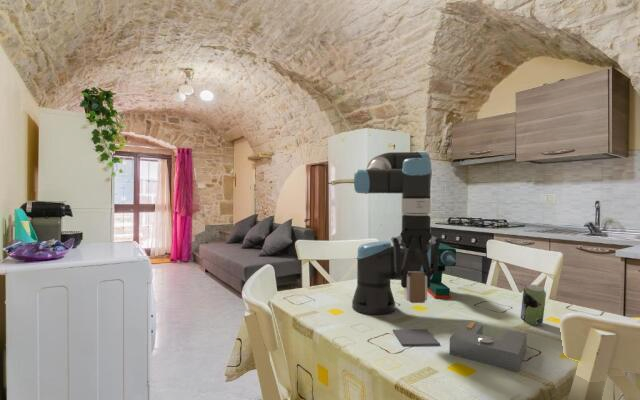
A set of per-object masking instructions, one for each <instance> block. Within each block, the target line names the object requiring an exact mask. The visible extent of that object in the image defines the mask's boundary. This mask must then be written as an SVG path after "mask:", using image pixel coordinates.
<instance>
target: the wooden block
mask: <svg viewBox="0 0 640 400" xmlns="http://www.w3.org/2000/svg"><path fill="white" fill-rule="evenodd" d="M407 275H408V276H410V301H409V302H410V303H411V304H425V303H426V301H425V274H424V273H423V272H421V271H408V274H407Z"/></svg>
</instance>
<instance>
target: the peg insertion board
mask: <svg viewBox="0 0 640 400" xmlns="http://www.w3.org/2000/svg"><path fill="white" fill-rule="evenodd" d="M483 327H484V325H483V324H482V323H478V322H475V321H468V320H465V321H464V322H463V323H462V324H461V325H460V326H459V328H457V330H455V331H454V332H453V334H452V335H450V337H449V355H451V356H452V355H453V356H456V357H459V358H460V357H461V358H464V359H467V360H471V361H475V362H478V363H482V364H486V365H489V366H495V367H496V368H497V367H498V368H500V369H505V370H508V371H509V370H510V371H513V372H516V373H519V370H520V368H521V366H522V362H523V359H524V357H525V354H526V351H527V341H528V340H527V338H528V337H527V332H520V331H515V330H512V329H506V331H505V332H504V334H503V336H502V338H497V337H493V336H489V335H484V334H483V333H484V331H483V329H484V328H483Z"/></svg>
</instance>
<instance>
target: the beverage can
mask: <svg viewBox="0 0 640 400" xmlns="http://www.w3.org/2000/svg"><path fill="white" fill-rule="evenodd" d="M522 292H523V293H522V299H521V309H520V310H521V311H520V319H521V320H522V321H523V322H524V323H526V324H527V325H530V326H539V325H542V324H543V322H544V314H545V305H546V296H547V292H546V290H545V288H544V287H542V286H541V285H539V284H538V285H537V284H532V283H531V284H526V285H525V287H524V288H523V291H522Z"/></svg>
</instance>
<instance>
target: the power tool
mask: <svg viewBox="0 0 640 400" xmlns="http://www.w3.org/2000/svg"><path fill="white" fill-rule="evenodd" d="M430 243H431V241H430ZM431 245H432V244H431ZM456 265H457V250H456V248H455V247H452V246H449V245H447V244H444V243H442V242H440V245H439V251H438V272H437V274H433V276H432V279H431V280H430V288H427V294H430V296H432V297H433V299H434V300H435V299H436V300H437V299H439V300H443V299H444V300H449V299H450V300H451V299H453V298H452V297H453V296H452V295H451V289H450V287H448V286H447V285H445V283H443V282H442V281H443V280H442V278H443V272H446V267H457V266H456Z"/></svg>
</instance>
